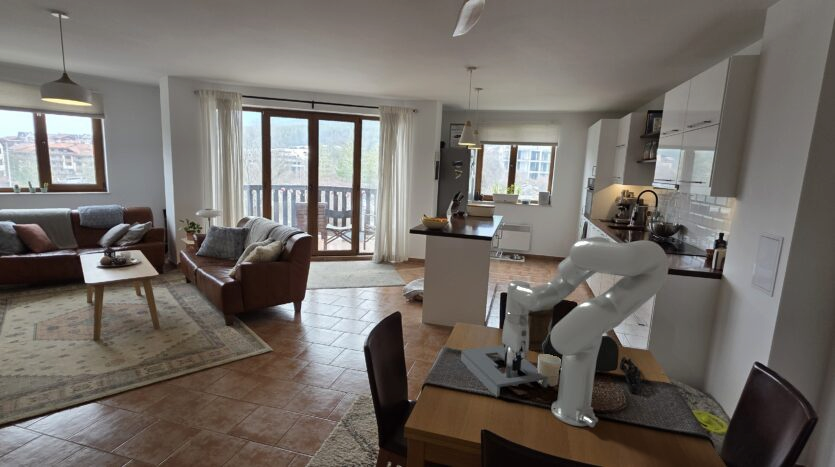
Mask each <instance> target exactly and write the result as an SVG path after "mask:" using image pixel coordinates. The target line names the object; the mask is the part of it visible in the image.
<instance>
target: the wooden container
mask: <svg viewBox="0 0 835 467" xmlns="http://www.w3.org/2000/svg"><path fill="white" fill-rule="evenodd" d="M554 306H555V305H554ZM554 306H551V307H548V308H545V309H542V310H539V311H535V312H534V311H529V312H528V322H527V324H528V326H529V350H528V351H535V352H536V351H537V352H538V351H539V352H543V350H542V344H543V342H544V341H545V340H546V338H547V336H548V334H549V333H551V331H552V329H553V327H552V326H553V316H554V310H555V309H554V308H555V307H554Z"/></svg>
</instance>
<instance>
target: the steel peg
mask: <svg viewBox="0 0 835 467" xmlns="http://www.w3.org/2000/svg"><path fill="white" fill-rule="evenodd" d="M518 355H519V353H517V356H518ZM513 359H514V351H513V350H512V349H510V348H509V347H508V352H507V363H506V365H505V372H503V373H502V374H503V375H504V376H506V377H507V378H514V377H520V375H519V374H518V372H519V370H517V371H512V361H513ZM515 385H519V384H515ZM512 386H513V385H512ZM519 386H520V385H519Z"/></svg>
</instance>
